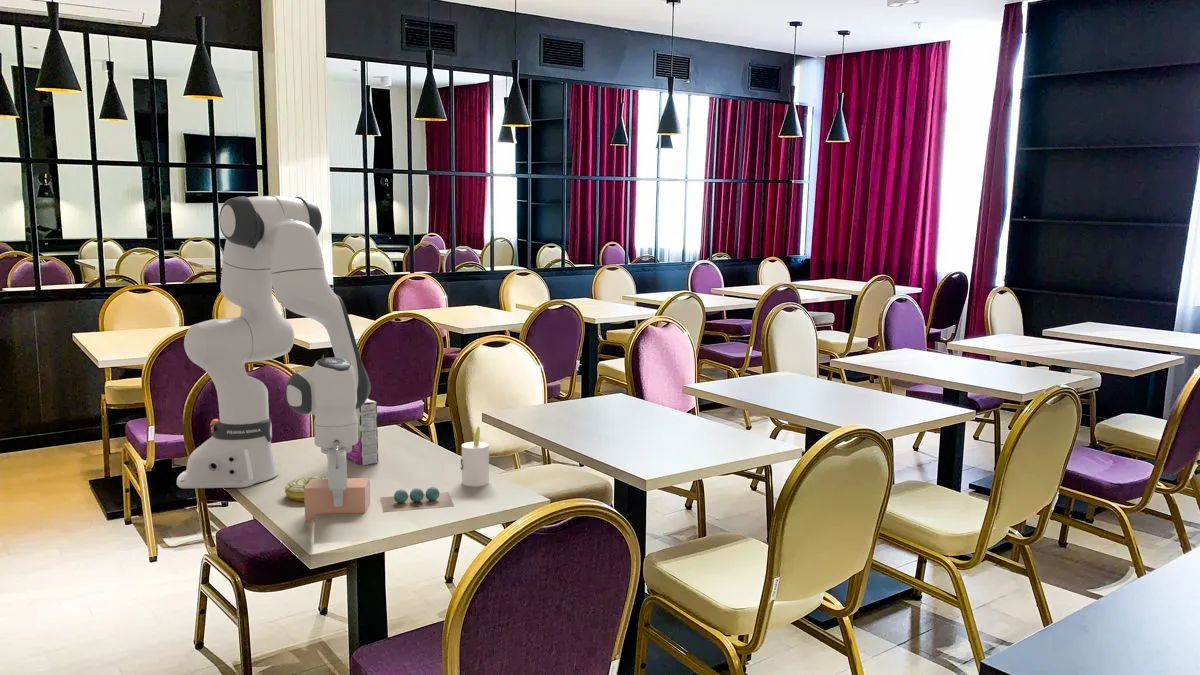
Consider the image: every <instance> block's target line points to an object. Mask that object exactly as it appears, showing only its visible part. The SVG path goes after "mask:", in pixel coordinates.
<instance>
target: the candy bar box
mask: <svg viewBox="0 0 1200 675" xmlns="http://www.w3.org/2000/svg"><path fill="white" fill-rule="evenodd" d="M355 412H356V416H357V420H358V443H357V444H355V445H352V451H350V452H348V453H347V454H346V459H348V460H350V461H352V462H354V463H356V464H358V465H359V466H361V467H364V466H365V467H366V466H370V465H375V464H378V463H379V440H378V432H379V430H378V402H377V401H375V400H373V399H370V398H369V397H368V398H367V400H366V401H365V402H364V404H363V405H362V406H361V407H360V408H358V409H355Z"/></svg>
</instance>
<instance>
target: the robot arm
mask: <svg viewBox="0 0 1200 675" xmlns="http://www.w3.org/2000/svg"><path fill="white" fill-rule="evenodd" d="M218 216H219V218H218V222H219V228H220V231H221V234H222V235H223V236H224V238H225V244H224V248H223V254H222V255H223V258H222V264H221V265H222V268H221V276H220V278H221V280H220V291H221V294H222V295H223V296H224V298H225V300H227V301H229V302H230V303H232V304H234V305H236V306H238V307H239V308H240V314H239V316H238V317H237V316H236V317H227V318H215V319H214V318H213V319H209V320H204V321H201V322H198V323H195V324H192V325H191V326H190V327H189V328H188V329H187V331H186V334H185V336H184V340H183V346H184V351H185V353H186V355H187V357H188V359H189V360H190V361H191V362H192V363H193V364H195V365H197V366H198V367H200V369H201V368H202V370H203V371H205V372H206V374H208V376H209V377H210V378H211V380H212V382H213V384H214V386H215V387H214V388H215V390H216V395H217V402H218V412H219V413H218V414H219V419H218V418H213V419H212V420H211V421H210V435H211V437H210V438H208V439H207V440H205V441H204V442H203V443H201V445H199V446H198V447H197V448H195V449H194V450H193V451H192V452H191V454H190V455H189V457H188V459H187V463H186V470H184V471H182V472H181V473H179V475H178V476H177V478H176V485H177V487H178V488H180V489H215V488H216V489H220V488H222V489H225V488H226V489H227V488H248V487H250V486H253V485H254V484H258V483H261V482H265V481H269V480H271V479H273V478H275V477H277V476H278V475H279V471H278V468H277V465H276V462H275V459H274V454H273V449H272V438H273V431H272V430H273V429H272V428H273V426H272V420H271V417H270V415H269V414H270V413H269V390H268V388H267V386H266V385H265V383H264V382H263V381H262V380H260V379H258V378H255V377H253V376H250V375H248V373H247V371H246V366H245V364H246V363H251V362H252V363H253V362H260V361H261V362H263V361H269V360H274V359H276V358H280V357H282V356H284V355H286V354H288V353H290V351H291V350H292V348H293V346H294V343H295V333H294V332H295V331H294V328H293V326H292V324H291V323H290V321H289V320H288V319H287V318H286V317H285V316H282V315H281V313H280V312H279V311H278V309H277V307H276V306H275V302H274V299H273V293H274V296H275V298H276V300H277V302H278V303H279V304H280V305H281V306H282V307H284V308H285V309H286V310H288V311H290V312H292V313H293V314H296V315H300V316H303V317H306V318H309V319H312V320H313V321H316V322H318V323H319V324H321V325H322V327H324V329H326V331H327V334H328V337H329V340H330V344H331V348H332V350H333V355H334V357H333V356H332V357H330V356H329V357H324V358H321V359H318V360H317V361H315V363H314V364H313V366H312V367H310V368H309V367H308V368H306V369H303V370H300V371H297V372H294V373H292V375H291V376H289V378H288V380H287V382H286V383H285V387H284V397H285V402H286V405H287V406H288V407H289V408H290V410H292V411H293V412H294V413H296V414H298V415H303V416H305V415H307V416H309V415H313V416H314V421H313V430H314V431H313V436H314V446H315V447H318V448H320V451H321V453H322V454H324V455H326V459H327V479H328V487H329V490H330V491H333V499H334V506H335V507H339V506H342V505H343V490H346V488H347V478H348V472H347V471H348V470H347V467H348V466H347V458H346V454H347V453H348V452H350V451H352V445H355V444H357V443H358V420H357V416H356V412H355V409H358V408H360V407H361V406H362V405H363V404H364V402H365V401H366V400H367V398H368V399H369V396H370V393H371V390H372V389H371V388H372V387H371V386H372V385H371V381H370V378H369V375H368V372H367V370H366V368H365V366H364V364H363V361H362V358H361V356H360V351H359V347H358V345H357V342H356V341H357V340H356V337H355V334H354V330H353V327H352V324H351V321H350V317H349V314H348V311H347V308H346V305H345V302H344V300H343V299H342V298H341V296H339V295H338V294H336V293H335V292H334V291H333V289H332V287H331V286H330V284H329V281H328V279H327V275H326V271H325V263H324V258H323V253H322V250H321V249H322V248H321V245H320V243H319V239H318V236H319V235H320V232H321V229H322V227H323V226H322V224H323V218H322V213H321V211H320V209H319V207H318V205H317V203H316V202H315V201H313V200H311V199H309V198H305V197H301V196H295V197H292V196H288V195H287V196H286V195H285V196H284V195H274V194H273V195H272V194H270V195H261V196H260V195H258V196H249V197H247V196H245V195H244V196H242V195H241V196H236V197H232V198H229V199H227V200H226V201H224V203H223V205H222V206H221V208H220V211H219V215H218Z"/></svg>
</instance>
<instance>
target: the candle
mask: <svg viewBox="0 0 1200 675" xmlns="http://www.w3.org/2000/svg"><path fill="white" fill-rule="evenodd" d="M480 430H481V428H480V426H477V427H476V430H475V431H474V435H473V436H474V437H473V441H468V442H464V443H462V444H461V458H460V465H461V466H460V470H461V485H464V486H467V487H483V486H486V485H488V484H489V483H490V466H489V465H490V444H489V443H488V442H484V441H480V436H481V434H480V432H481V431H480Z"/></svg>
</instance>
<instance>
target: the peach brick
mask: <svg viewBox="0 0 1200 675" xmlns="http://www.w3.org/2000/svg"><path fill="white" fill-rule="evenodd" d="M370 480H371V479H370V477H369V478H368V477H360V478H359V477H357V478H355V477H354V478H353V477H352V478H350V477H349V478H348V477H347V488H346V490H343V505H342V506H339V507H335V506H334V499H333V491H330V490H329V487H328V478H327V479H311V480H310V481H309V482H308V484H307V485H306V487H305V488H304V501H305V502H304V521H305V522H307V521H309V522H310V521H314V522H315V520H316V515H317V514H319V515H320V514H363V513H364V514H365V513H366V512H367V510H368V508H369V506H370V504H371V481H370Z"/></svg>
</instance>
